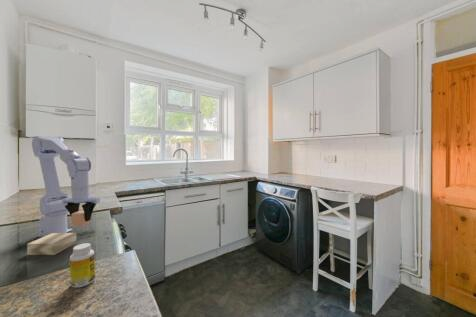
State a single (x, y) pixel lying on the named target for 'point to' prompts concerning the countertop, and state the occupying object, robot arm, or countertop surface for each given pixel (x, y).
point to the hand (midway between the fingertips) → (81, 220)
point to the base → (51, 244)
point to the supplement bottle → (82, 265)
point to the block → (79, 219)
